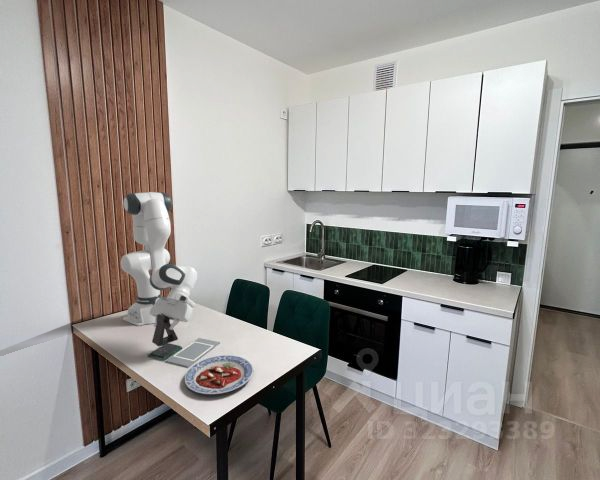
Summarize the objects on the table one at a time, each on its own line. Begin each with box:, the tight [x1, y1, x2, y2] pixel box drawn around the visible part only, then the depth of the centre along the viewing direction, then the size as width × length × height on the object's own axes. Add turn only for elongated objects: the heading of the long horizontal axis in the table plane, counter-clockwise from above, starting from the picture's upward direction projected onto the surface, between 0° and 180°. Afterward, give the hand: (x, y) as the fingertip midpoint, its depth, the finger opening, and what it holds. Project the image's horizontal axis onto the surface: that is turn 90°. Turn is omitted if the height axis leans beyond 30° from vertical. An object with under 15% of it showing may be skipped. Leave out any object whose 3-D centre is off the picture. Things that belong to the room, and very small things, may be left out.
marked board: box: [164, 337, 221, 369], centre depth 147 cm, size 12×22×1 cm, turn 159°
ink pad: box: [147, 342, 183, 362], centre depth 146 cm, size 9×11×2 cm
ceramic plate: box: [184, 354, 254, 395], centre depth 128 cm, size 26×26×3 cm
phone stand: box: [151, 313, 179, 348], centre depth 144 cm, size 9×6×12 cm, turn 137°
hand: (162, 328), depth 144 cm, fingers closed on phone stand, 6 cm apart
